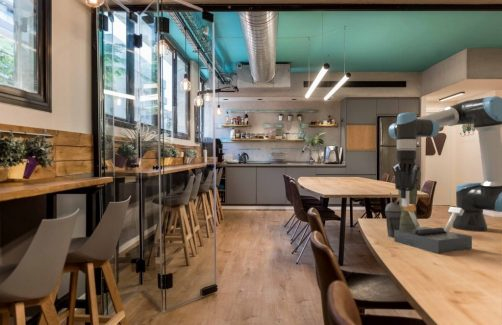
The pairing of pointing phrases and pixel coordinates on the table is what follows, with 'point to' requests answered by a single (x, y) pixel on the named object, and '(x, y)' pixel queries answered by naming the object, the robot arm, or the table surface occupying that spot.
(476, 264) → the table surface
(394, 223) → the beverage cup
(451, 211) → the white toy hammer
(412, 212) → the orange mallet
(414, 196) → the thermos
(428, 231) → the cord bundle
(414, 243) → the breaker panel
